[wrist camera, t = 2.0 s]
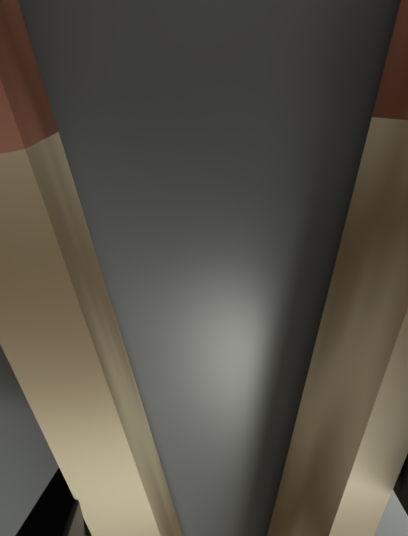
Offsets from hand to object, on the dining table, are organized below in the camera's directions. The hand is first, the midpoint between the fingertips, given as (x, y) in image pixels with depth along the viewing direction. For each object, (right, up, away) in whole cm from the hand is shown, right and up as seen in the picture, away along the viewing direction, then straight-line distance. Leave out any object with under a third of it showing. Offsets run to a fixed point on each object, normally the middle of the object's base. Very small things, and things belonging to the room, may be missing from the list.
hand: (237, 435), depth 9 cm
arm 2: (-3, -1, +1) cm, 3 cm away
